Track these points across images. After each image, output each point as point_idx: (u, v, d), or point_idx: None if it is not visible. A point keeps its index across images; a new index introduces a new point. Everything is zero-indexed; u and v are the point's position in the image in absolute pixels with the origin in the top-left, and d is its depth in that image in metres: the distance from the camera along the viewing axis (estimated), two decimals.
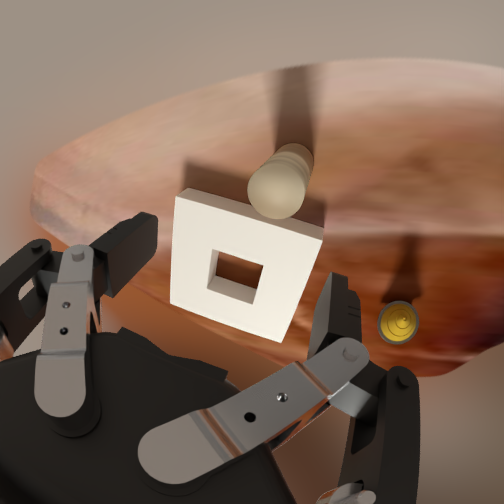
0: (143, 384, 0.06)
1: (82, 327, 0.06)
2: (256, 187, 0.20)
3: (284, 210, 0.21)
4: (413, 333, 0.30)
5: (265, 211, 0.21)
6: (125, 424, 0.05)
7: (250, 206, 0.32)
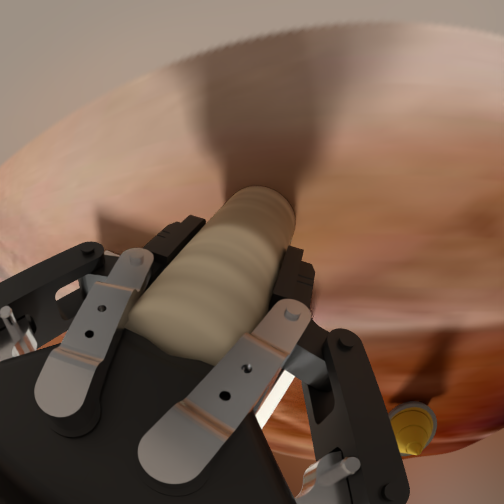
0: (143, 384, 0.06)
1: (109, 336, 0.06)
2: None
3: None
4: (427, 443, 0.18)
5: None
6: (125, 424, 0.05)
7: None
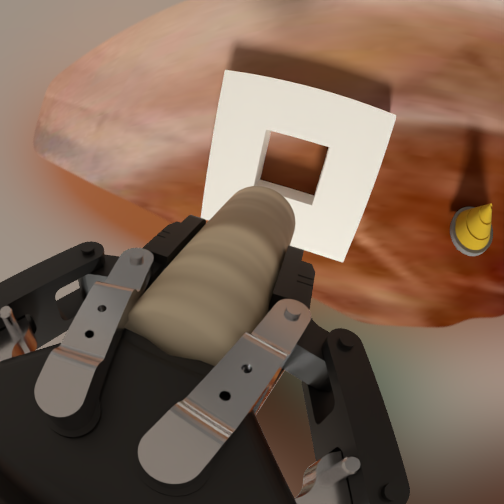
0: (143, 384, 0.06)
1: (109, 336, 0.06)
2: None
3: None
4: (489, 241, 0.23)
5: None
6: (126, 424, 0.05)
7: None
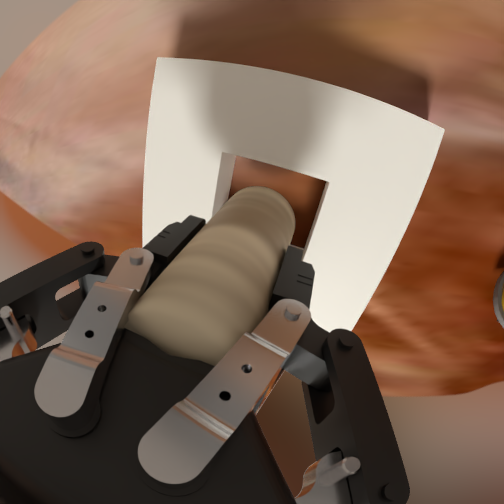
0: (143, 384, 0.06)
1: (109, 336, 0.06)
2: None
3: None
4: None
5: None
6: (125, 424, 0.05)
7: None
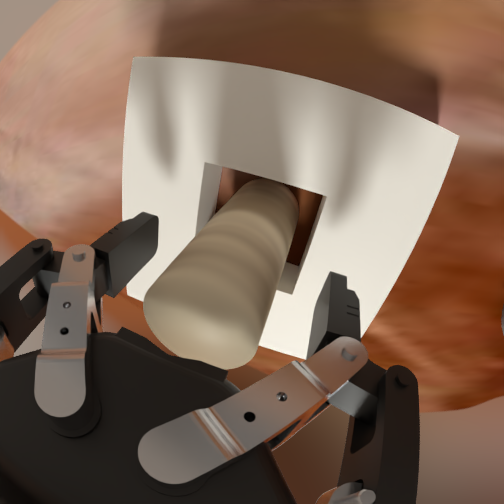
0: (143, 384, 0.06)
1: (82, 327, 0.06)
2: (158, 314, 0.09)
3: (220, 359, 0.10)
4: None
5: (185, 353, 0.10)
6: (125, 424, 0.05)
7: None
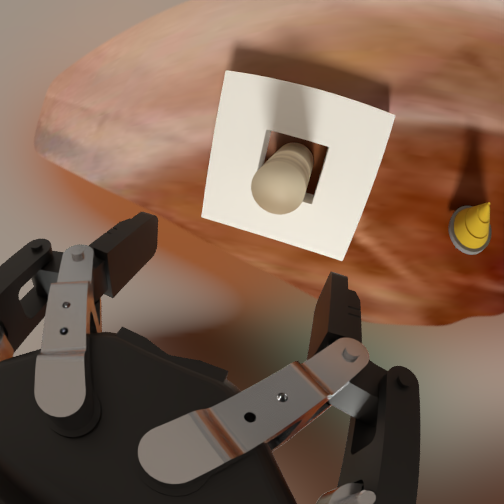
0: (143, 384, 0.06)
1: (82, 327, 0.06)
2: (259, 184, 0.21)
3: (286, 206, 0.21)
4: (488, 239, 0.23)
5: (268, 207, 0.22)
6: (125, 424, 0.05)
7: None
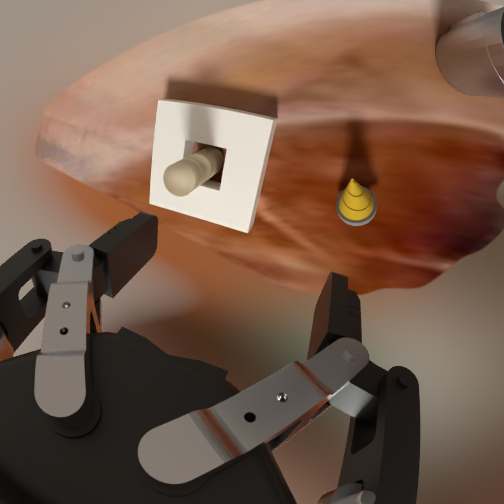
0: (143, 384, 0.06)
1: (82, 327, 0.06)
2: (167, 177, 0.32)
3: (184, 190, 0.32)
4: (372, 213, 0.34)
5: (174, 192, 0.33)
6: (126, 424, 0.05)
7: (217, 106, 0.36)
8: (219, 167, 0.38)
